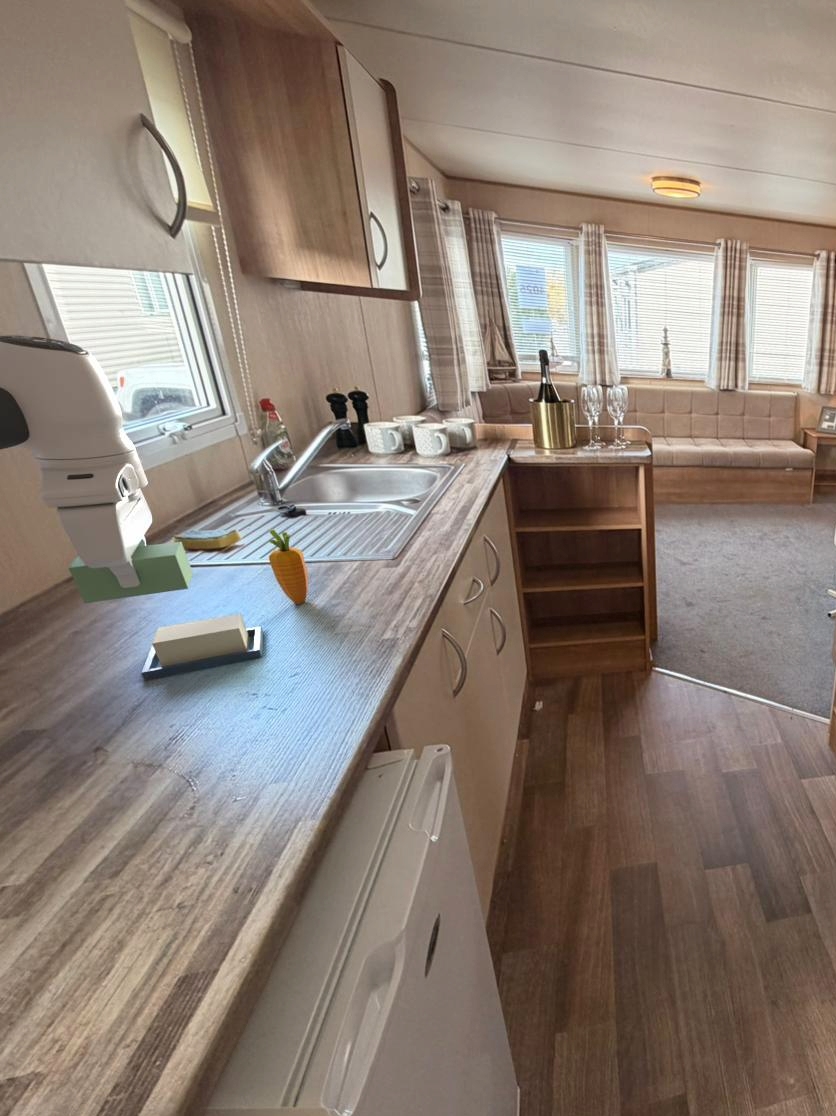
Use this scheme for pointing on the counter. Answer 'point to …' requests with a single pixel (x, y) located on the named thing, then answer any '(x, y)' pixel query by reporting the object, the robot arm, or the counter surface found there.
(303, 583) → the carrot
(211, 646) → the cream pad
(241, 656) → the pad tray
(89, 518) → the robot arm
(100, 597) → the sage pad
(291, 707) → the counter surface
